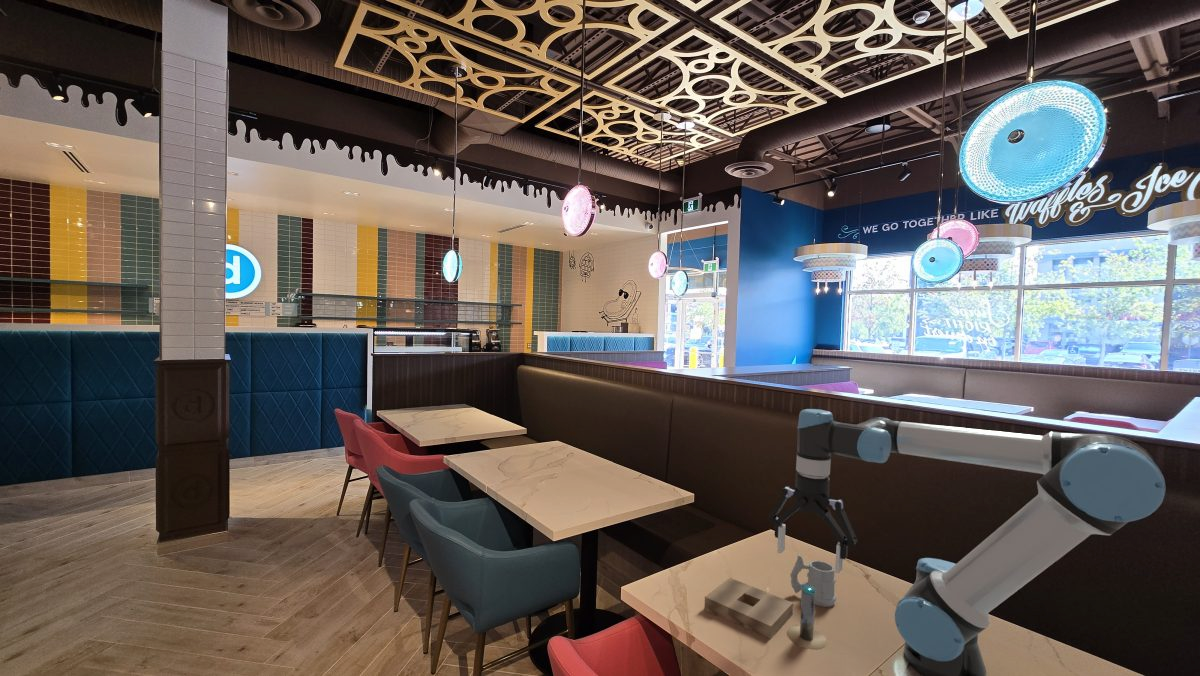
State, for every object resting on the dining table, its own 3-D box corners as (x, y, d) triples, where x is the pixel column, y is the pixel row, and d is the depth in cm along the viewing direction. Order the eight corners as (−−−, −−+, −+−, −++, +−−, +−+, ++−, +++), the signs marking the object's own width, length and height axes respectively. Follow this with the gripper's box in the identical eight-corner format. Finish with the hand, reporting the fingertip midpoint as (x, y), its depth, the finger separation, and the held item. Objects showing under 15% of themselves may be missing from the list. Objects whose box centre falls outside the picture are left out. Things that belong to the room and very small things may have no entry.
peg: (814, 636, 119) (816, 588, 119) (810, 642, 117) (812, 593, 116) (802, 631, 121) (804, 583, 121) (797, 636, 119) (799, 588, 118)
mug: (838, 611, 131) (839, 567, 130) (790, 602, 134) (792, 559, 134) (833, 596, 138) (835, 554, 138) (788, 588, 142) (790, 547, 141)
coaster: (831, 638, 119) (831, 636, 119) (819, 656, 112) (819, 654, 112) (794, 622, 125) (794, 621, 125) (780, 638, 118) (780, 636, 118)
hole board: (792, 616, 128) (793, 602, 128) (770, 640, 118) (771, 626, 117) (729, 589, 140) (729, 577, 140) (704, 609, 130) (704, 596, 130)
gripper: (874, 483, 112) (869, 574, 113) (768, 460, 129) (765, 539, 130) (865, 490, 107) (861, 586, 107) (756, 465, 123) (753, 548, 124)
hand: (808, 560), depth 118 cm, fingers open, 13 cm apart
